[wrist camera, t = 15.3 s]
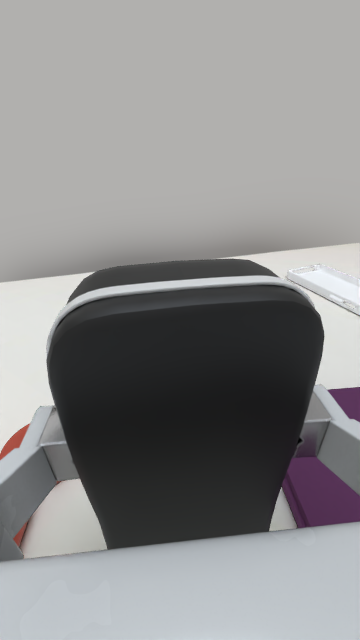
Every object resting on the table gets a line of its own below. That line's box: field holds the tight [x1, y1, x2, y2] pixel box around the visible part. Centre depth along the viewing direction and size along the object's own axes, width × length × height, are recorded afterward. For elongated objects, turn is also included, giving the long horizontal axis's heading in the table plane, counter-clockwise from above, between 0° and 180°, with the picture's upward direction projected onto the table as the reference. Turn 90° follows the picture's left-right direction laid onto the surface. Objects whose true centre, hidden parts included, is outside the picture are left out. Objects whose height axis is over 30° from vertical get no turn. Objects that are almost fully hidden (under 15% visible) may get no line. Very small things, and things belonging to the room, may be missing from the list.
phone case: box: [287, 264, 360, 315], centre depth 41 cm, size 7×1×15 cm
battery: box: [46, 259, 324, 549], centre depth 10 cm, size 7×4×11 cm, turn 99°
